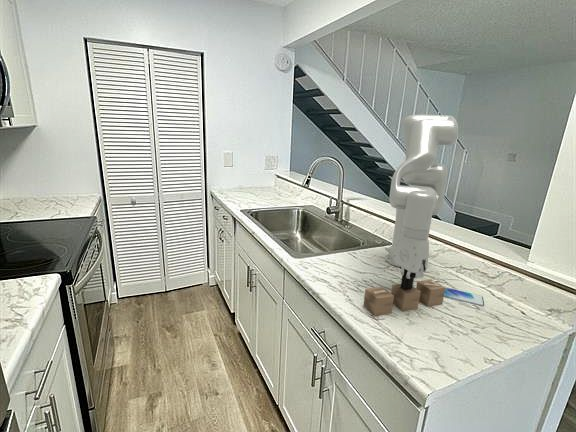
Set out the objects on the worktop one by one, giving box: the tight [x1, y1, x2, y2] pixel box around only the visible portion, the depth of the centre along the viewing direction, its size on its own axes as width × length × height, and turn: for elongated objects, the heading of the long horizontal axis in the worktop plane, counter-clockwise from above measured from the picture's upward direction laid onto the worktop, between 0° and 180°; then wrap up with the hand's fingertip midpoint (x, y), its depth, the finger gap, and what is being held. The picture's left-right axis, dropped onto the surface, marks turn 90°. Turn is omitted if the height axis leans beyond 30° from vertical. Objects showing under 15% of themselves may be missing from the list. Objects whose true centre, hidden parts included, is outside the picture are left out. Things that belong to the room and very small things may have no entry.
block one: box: [363, 286, 394, 317], centre depth 96 cm, size 6×6×6 cm
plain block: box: [390, 283, 421, 312], centre depth 100 cm, size 6×6×6 cm
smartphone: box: [444, 286, 485, 307], centre depth 108 cm, size 7×1×15 cm
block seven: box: [415, 279, 446, 307], centre depth 103 cm, size 6×6×6 cm
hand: (406, 288), depth 99 cm, fingers closed
